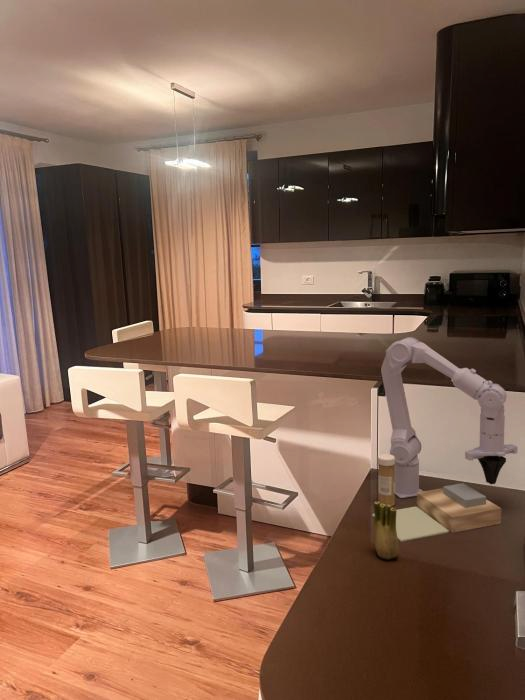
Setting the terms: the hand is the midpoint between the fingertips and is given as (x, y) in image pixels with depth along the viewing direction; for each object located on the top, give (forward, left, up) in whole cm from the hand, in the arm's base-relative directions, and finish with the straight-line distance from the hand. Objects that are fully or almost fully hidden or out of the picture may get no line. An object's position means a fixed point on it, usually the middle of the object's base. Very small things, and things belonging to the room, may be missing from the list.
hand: (490, 482), depth 131 cm
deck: (0, -10, -7) cm, 12 cm away
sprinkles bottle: (-12, -24, -7) cm, 28 cm away
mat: (0, -24, -7) cm, 25 cm away
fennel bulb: (+11, -37, -7) cm, 39 cm away
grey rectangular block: (0, -8, -3) cm, 9 cm away
